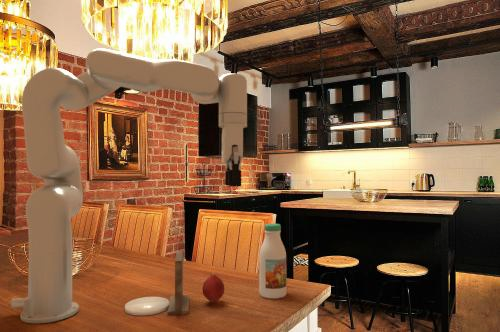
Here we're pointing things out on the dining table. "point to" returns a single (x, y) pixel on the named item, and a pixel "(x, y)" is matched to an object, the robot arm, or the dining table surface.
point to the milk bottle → (272, 264)
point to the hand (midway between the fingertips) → (232, 185)
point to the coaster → (147, 306)
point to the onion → (213, 288)
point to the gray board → (179, 290)
